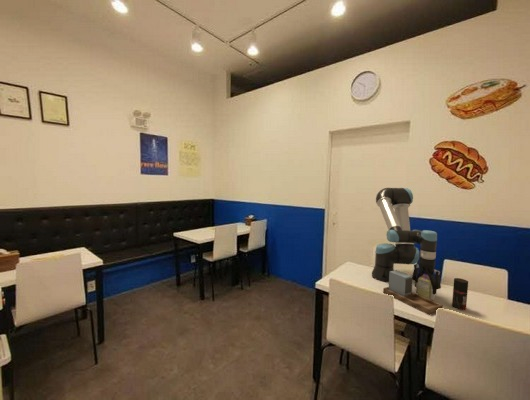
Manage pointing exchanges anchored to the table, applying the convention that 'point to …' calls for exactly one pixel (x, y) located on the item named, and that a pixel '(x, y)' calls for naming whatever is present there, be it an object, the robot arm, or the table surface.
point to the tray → (416, 301)
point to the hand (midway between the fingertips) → (424, 295)
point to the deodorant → (460, 294)
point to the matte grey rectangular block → (400, 283)
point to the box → (424, 286)
